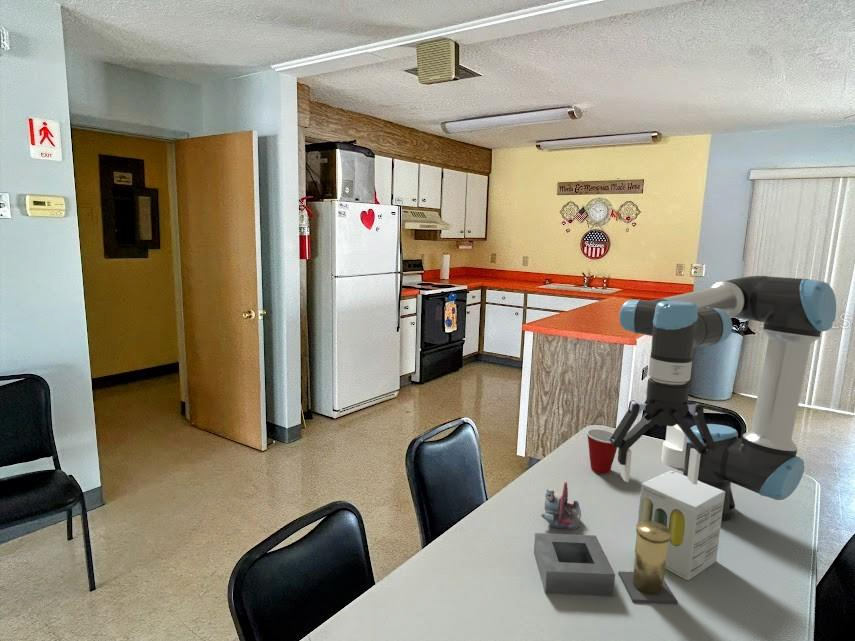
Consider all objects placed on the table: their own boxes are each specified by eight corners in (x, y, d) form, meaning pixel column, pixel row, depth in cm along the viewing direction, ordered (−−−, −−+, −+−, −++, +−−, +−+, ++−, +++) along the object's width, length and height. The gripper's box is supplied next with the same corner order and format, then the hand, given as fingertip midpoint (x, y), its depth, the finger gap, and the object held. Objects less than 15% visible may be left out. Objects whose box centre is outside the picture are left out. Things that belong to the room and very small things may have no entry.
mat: (659, 575, 116) (659, 573, 116) (677, 604, 107) (677, 601, 107) (618, 573, 116) (618, 571, 116) (632, 602, 107) (633, 599, 107)
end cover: (657, 576, 114) (663, 521, 112) (669, 597, 108) (676, 539, 106) (626, 575, 115) (631, 520, 112) (637, 595, 108) (643, 537, 106)
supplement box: (632, 551, 124) (639, 482, 122) (663, 534, 132) (670, 468, 129) (687, 582, 114) (696, 507, 111) (717, 561, 121) (726, 490, 119)
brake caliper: (588, 530, 128) (560, 487, 130) (550, 546, 133) (523, 505, 134) (592, 508, 139) (566, 469, 140) (556, 524, 143) (532, 486, 144)
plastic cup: (624, 478, 162) (627, 441, 160) (588, 477, 162) (591, 440, 160) (612, 463, 173) (615, 428, 171) (579, 462, 173) (582, 427, 171)
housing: (594, 555, 122) (595, 535, 122) (613, 596, 109) (615, 574, 108) (533, 552, 123) (535, 532, 122) (544, 593, 109) (546, 571, 108)
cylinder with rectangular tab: (655, 457, 178) (658, 424, 176) (678, 455, 180) (681, 422, 178) (673, 469, 169) (677, 434, 167) (697, 467, 171) (701, 432, 169)
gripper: (610, 383, 100) (602, 486, 104) (743, 387, 100) (730, 491, 103) (599, 372, 108) (591, 469, 111) (722, 376, 107) (711, 473, 111)
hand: (658, 480), depth 107 cm, fingers open, 13 cm apart
